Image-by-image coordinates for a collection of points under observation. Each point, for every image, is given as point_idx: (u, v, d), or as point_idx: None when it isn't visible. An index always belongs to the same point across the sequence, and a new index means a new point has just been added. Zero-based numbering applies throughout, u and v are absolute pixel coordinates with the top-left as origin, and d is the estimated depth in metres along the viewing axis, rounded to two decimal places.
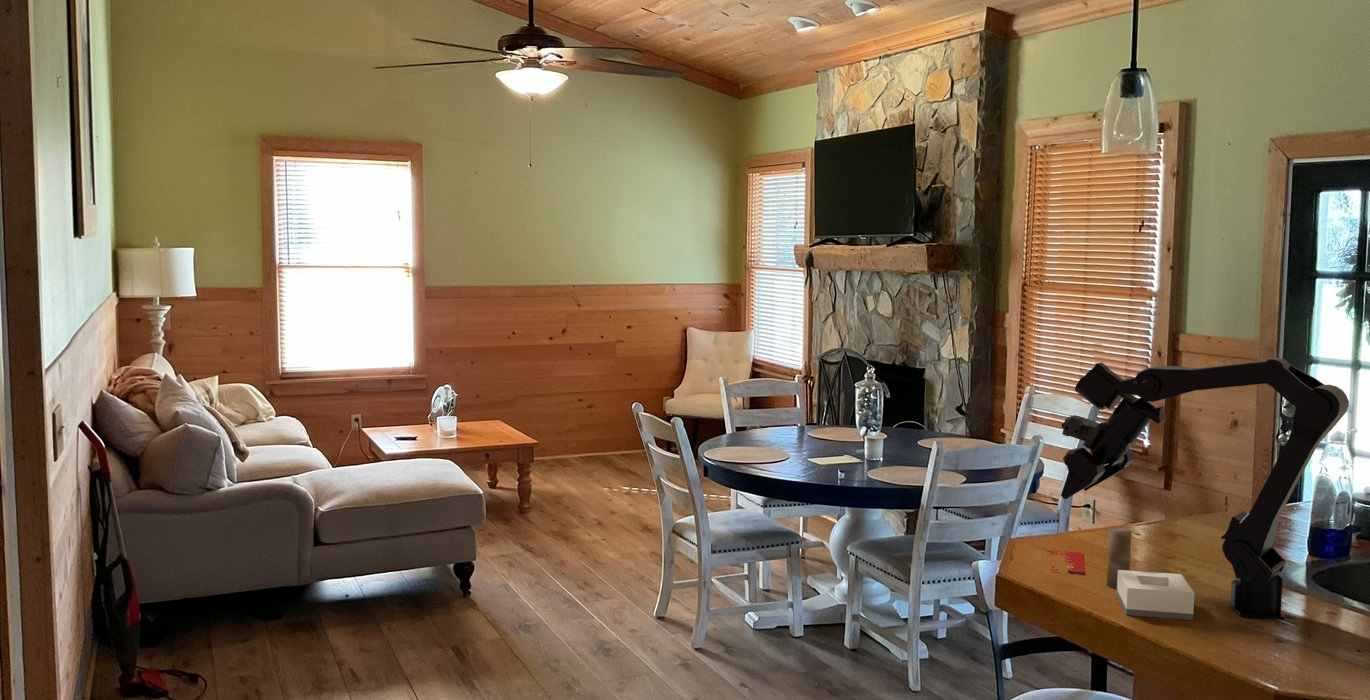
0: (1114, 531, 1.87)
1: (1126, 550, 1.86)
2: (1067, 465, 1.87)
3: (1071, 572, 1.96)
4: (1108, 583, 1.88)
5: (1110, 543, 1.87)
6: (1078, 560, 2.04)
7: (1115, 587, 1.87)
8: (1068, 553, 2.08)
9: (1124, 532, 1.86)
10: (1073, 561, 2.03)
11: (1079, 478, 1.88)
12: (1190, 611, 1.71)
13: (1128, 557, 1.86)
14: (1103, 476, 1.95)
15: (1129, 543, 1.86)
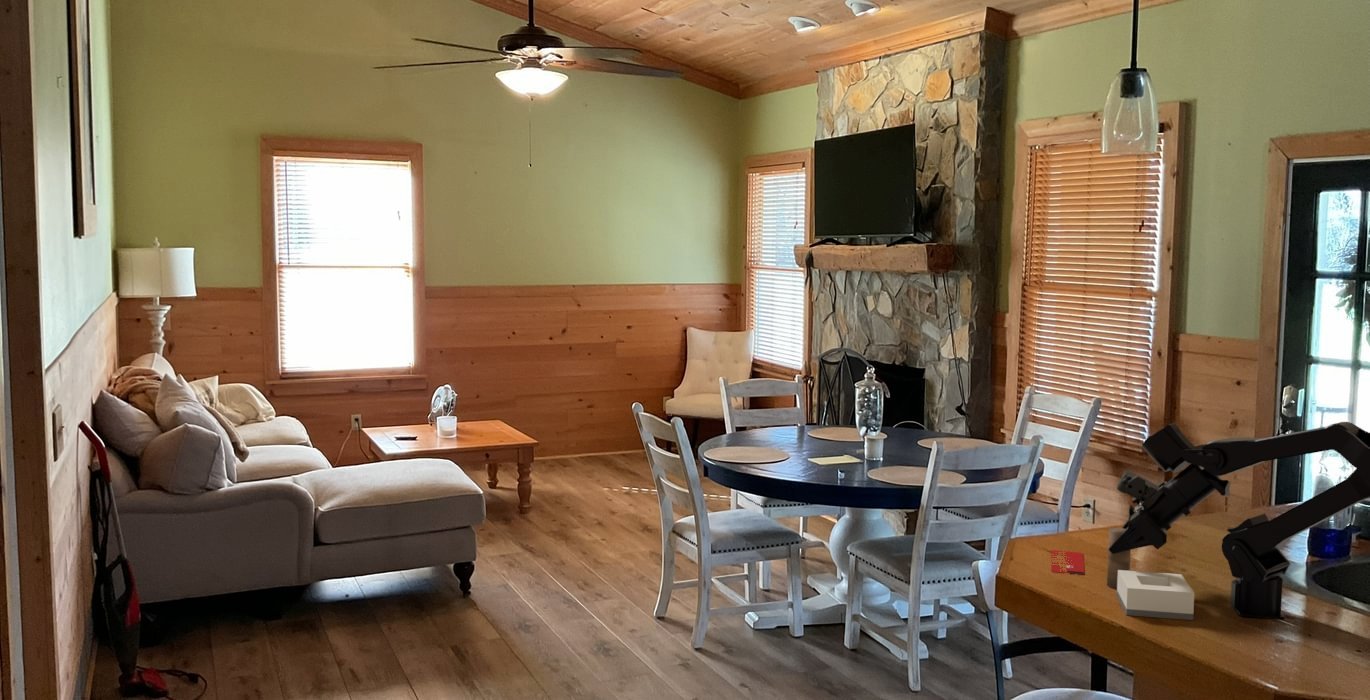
0: (1114, 531, 1.87)
1: None
2: (1132, 524, 1.81)
3: (1071, 572, 1.96)
4: (1107, 583, 1.88)
5: (1110, 543, 1.87)
6: (1078, 560, 2.04)
7: (1115, 587, 1.87)
8: (1068, 553, 2.08)
9: None
10: (1073, 561, 2.03)
11: (1136, 536, 1.83)
12: (1190, 611, 1.71)
13: (1128, 557, 1.86)
14: None
15: None
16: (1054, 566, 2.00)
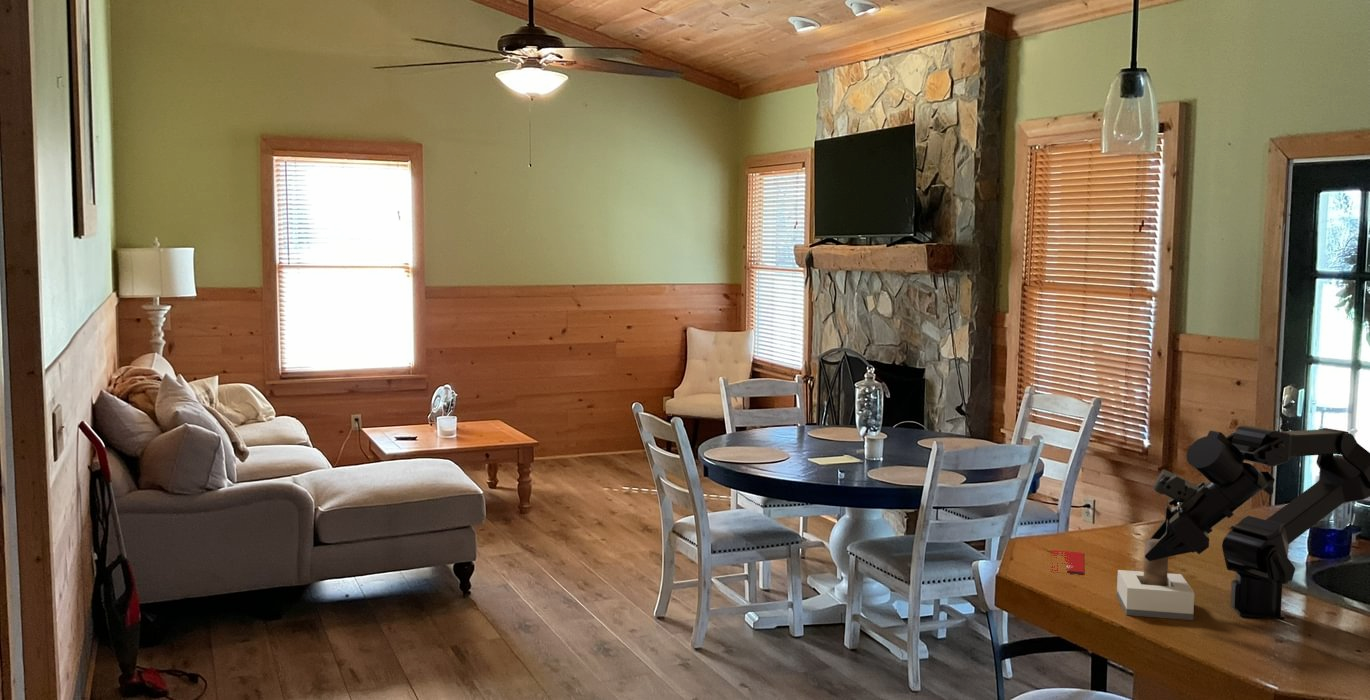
0: (1151, 541, 1.76)
1: (1163, 561, 1.75)
2: (1171, 529, 1.69)
3: (1070, 572, 1.96)
4: None
5: None
6: (1078, 560, 2.04)
7: None
8: (1069, 553, 2.08)
9: None
10: (1073, 561, 2.03)
11: (1175, 543, 1.71)
12: (1190, 611, 1.71)
13: (1165, 569, 1.75)
14: None
15: None
16: (1054, 566, 2.00)
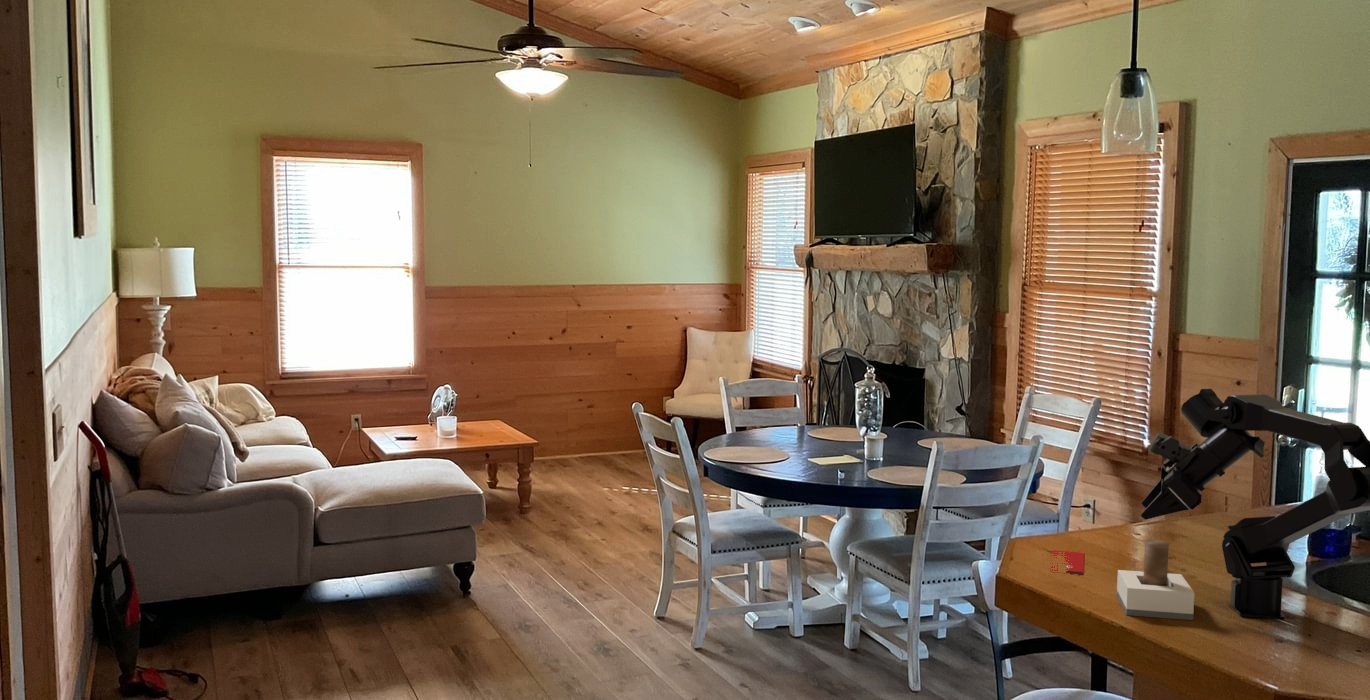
0: (1150, 543, 1.76)
1: (1163, 563, 1.75)
2: (1165, 488, 1.77)
3: (1070, 572, 1.96)
4: None
5: (1146, 556, 1.76)
6: (1078, 560, 2.04)
7: None
8: (1069, 553, 2.08)
9: (1161, 544, 1.75)
10: (1073, 561, 2.03)
11: (1169, 501, 1.79)
12: (1190, 611, 1.71)
13: (1166, 571, 1.75)
14: None
15: (1167, 556, 1.75)
16: None
